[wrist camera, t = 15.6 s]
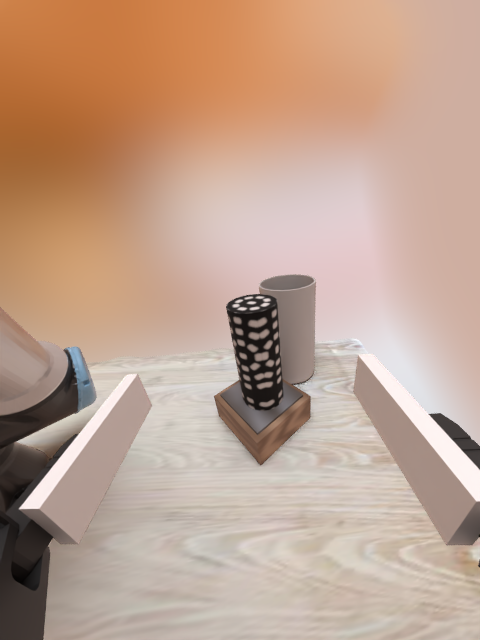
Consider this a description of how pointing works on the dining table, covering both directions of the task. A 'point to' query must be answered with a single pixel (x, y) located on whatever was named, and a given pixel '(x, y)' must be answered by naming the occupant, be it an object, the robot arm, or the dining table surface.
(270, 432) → the display pedestal
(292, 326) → the cylinder vase
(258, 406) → the spotted tube
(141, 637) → the dining table surface
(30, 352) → the robot arm
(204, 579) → the dining table surface
